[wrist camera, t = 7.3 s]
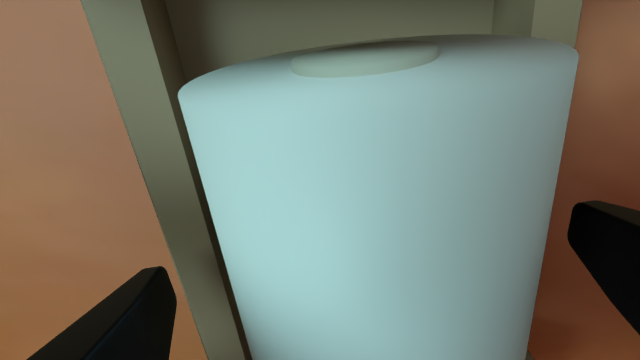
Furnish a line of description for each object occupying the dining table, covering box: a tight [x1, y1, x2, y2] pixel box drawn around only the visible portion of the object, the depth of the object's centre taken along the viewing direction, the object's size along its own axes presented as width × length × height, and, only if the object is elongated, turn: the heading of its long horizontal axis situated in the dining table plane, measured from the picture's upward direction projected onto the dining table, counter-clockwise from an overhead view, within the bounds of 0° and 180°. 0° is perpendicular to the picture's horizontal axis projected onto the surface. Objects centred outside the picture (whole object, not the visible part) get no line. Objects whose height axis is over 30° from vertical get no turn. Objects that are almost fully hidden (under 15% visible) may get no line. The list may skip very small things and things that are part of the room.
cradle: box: [81, 0, 583, 360], centre depth 9 cm, size 17×11×5 cm, turn 6°
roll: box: [178, 34, 579, 360], centre depth 8 cm, size 8×6×6 cm
